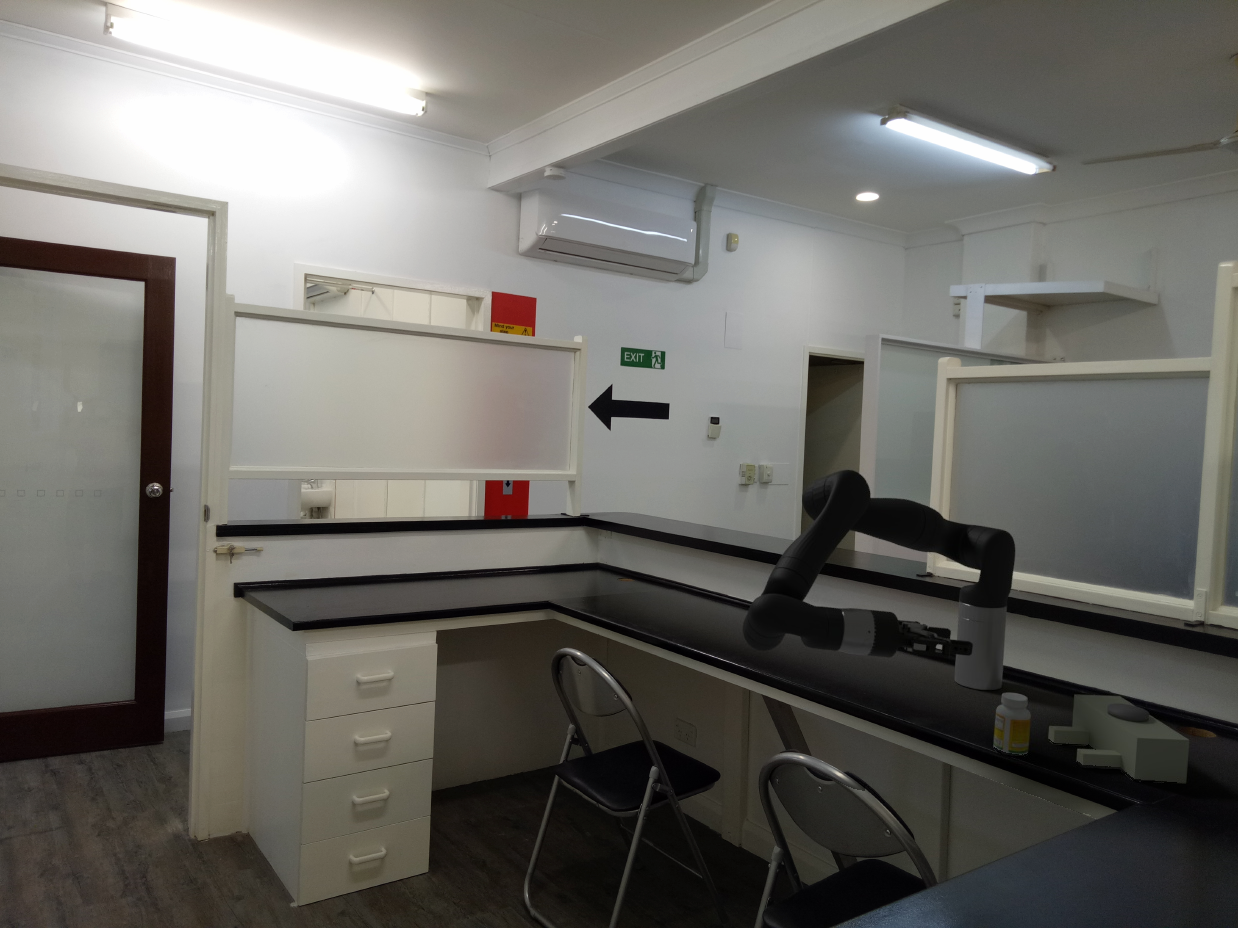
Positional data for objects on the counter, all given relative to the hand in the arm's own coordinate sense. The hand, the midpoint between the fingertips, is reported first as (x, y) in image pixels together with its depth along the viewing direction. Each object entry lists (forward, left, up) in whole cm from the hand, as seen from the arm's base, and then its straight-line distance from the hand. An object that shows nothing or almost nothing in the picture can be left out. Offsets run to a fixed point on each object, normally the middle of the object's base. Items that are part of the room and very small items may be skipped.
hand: (960, 641), depth 143 cm
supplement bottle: (-1, +10, -19) cm, 22 cm away
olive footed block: (-1, +26, -19) cm, 32 cm away
